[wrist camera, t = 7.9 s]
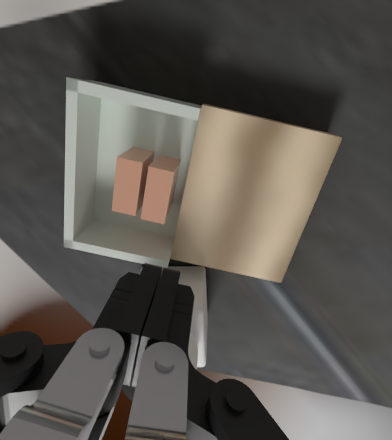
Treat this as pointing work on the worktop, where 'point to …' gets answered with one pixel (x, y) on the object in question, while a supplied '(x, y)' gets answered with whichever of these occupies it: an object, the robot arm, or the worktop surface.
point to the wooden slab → (249, 192)
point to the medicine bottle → (198, 332)
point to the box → (106, 165)
